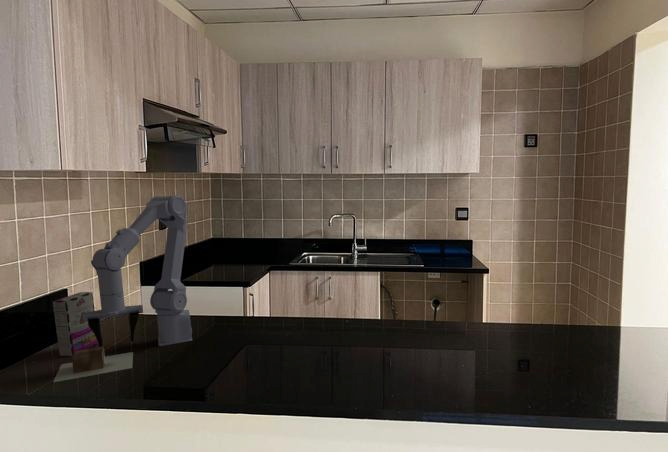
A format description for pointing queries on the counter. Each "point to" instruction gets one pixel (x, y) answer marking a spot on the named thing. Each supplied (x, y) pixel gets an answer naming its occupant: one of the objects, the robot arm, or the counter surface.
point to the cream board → (110, 365)
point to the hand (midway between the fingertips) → (116, 343)
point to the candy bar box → (74, 323)
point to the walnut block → (88, 360)
